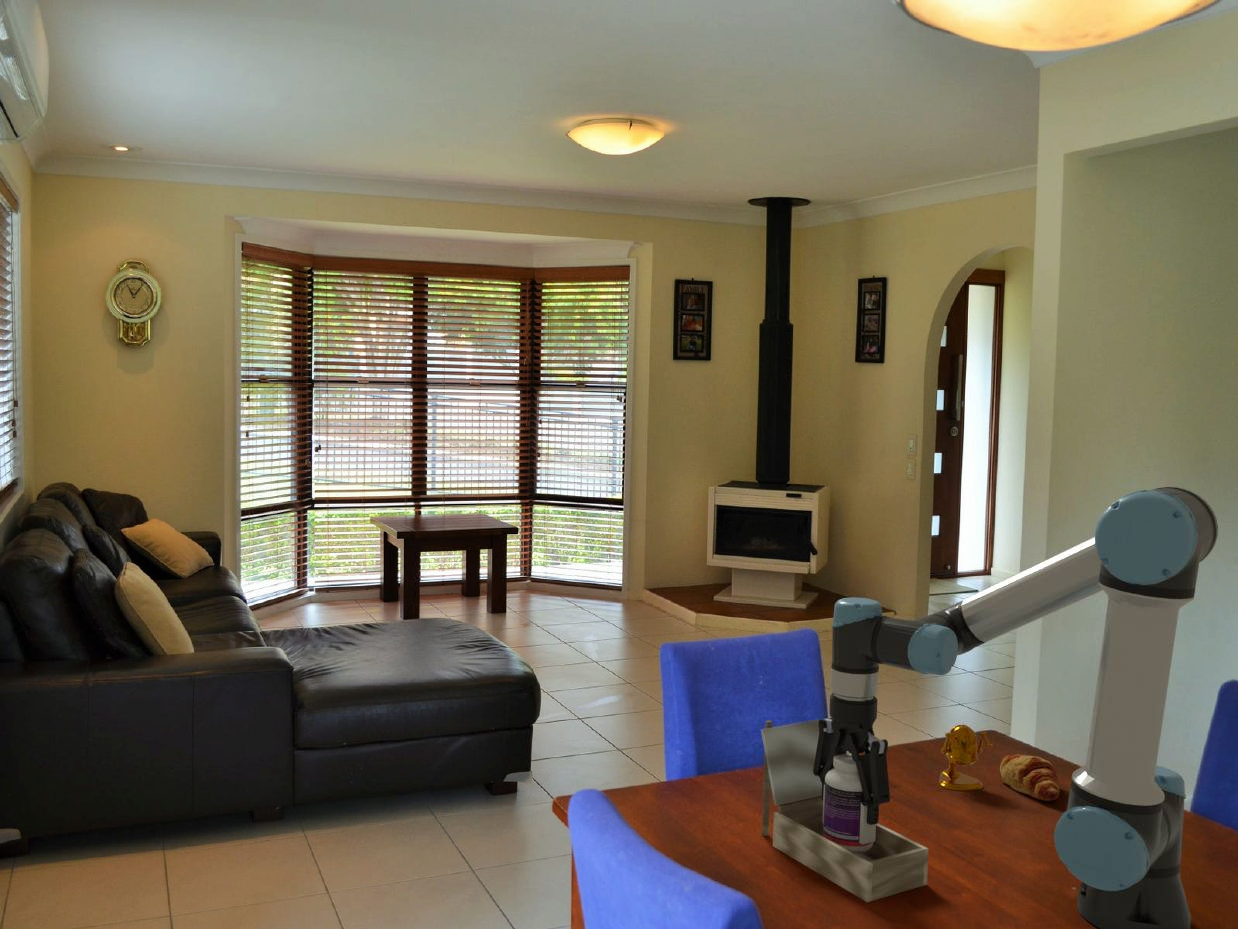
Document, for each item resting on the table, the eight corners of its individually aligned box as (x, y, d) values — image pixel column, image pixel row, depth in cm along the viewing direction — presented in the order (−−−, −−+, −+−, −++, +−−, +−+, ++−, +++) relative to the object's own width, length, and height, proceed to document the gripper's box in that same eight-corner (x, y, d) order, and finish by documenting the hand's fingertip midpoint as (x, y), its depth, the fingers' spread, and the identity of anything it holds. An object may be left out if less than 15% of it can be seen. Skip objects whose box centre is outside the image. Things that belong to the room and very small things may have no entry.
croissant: (992, 785, 223) (975, 751, 222) (1034, 762, 224) (1018, 729, 223) (1041, 823, 202) (1023, 787, 201) (1087, 798, 203) (1069, 761, 202)
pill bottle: (873, 859, 170) (877, 770, 169) (822, 853, 172) (825, 765, 171) (872, 838, 178) (875, 753, 177) (822, 833, 180) (826, 748, 179)
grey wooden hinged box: (926, 884, 169) (932, 759, 167) (867, 902, 162) (872, 772, 161) (811, 822, 192) (815, 712, 191) (754, 835, 186) (758, 722, 184)
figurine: (950, 794, 207) (953, 733, 207) (926, 774, 218) (929, 716, 217) (992, 793, 209) (995, 732, 208) (966, 773, 219) (969, 715, 218)
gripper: (918, 708, 166) (912, 852, 168) (827, 676, 184) (822, 806, 186) (883, 715, 162) (877, 861, 164) (793, 681, 180) (788, 813, 182)
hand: (848, 832), depth 175 cm, fingers closed on pill bottle, 8 cm apart
